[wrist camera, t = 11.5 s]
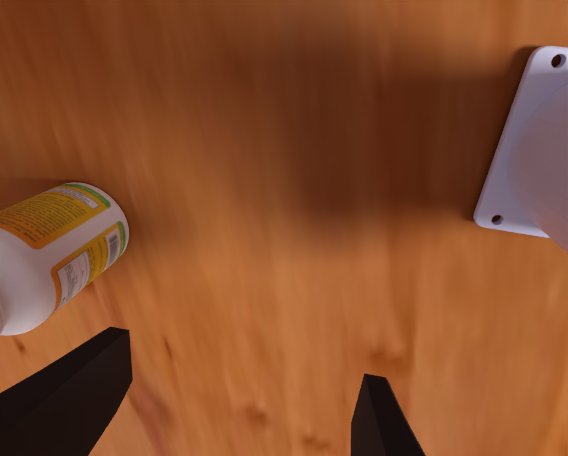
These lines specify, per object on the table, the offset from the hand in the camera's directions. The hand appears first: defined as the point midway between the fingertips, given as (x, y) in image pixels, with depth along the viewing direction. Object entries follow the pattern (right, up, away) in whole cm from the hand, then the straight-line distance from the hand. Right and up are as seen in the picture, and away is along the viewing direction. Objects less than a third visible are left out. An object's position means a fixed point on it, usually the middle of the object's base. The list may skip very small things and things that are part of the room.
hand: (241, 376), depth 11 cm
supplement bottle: (-10, +5, +12) cm, 16 cm away
